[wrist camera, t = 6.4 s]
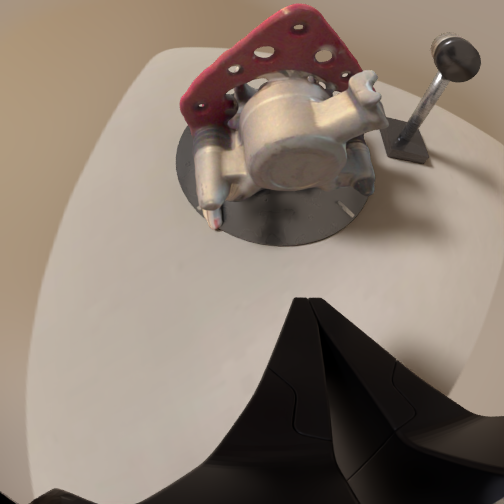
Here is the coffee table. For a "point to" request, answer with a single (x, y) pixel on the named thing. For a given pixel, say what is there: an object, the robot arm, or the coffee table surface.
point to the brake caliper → (282, 115)
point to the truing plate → (275, 208)
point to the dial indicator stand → (431, 96)
